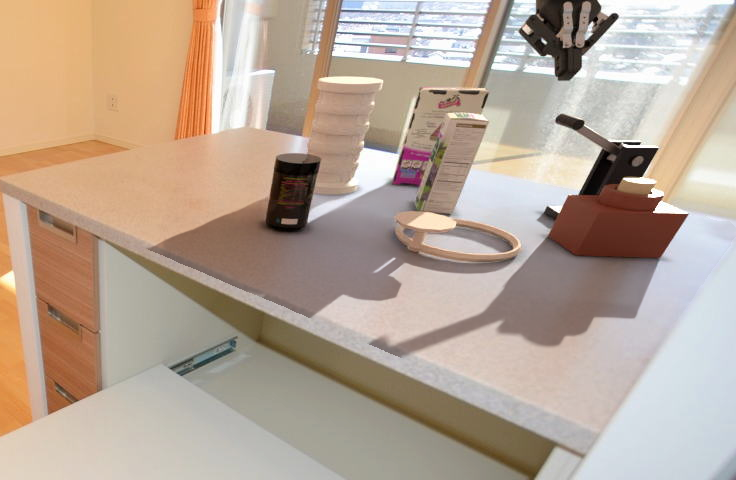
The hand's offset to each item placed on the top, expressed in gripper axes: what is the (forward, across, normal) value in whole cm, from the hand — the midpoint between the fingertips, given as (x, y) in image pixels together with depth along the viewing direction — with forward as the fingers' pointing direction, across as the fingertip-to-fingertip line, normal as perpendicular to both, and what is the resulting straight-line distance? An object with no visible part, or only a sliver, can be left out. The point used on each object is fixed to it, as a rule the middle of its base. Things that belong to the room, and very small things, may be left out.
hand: (567, 76), depth 81 cm
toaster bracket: (+18, -10, -10) cm, 23 cm away
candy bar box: (+2, +9, -26) cm, 27 cm away
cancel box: (+26, -6, -2) cm, 26 cm away
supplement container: (+22, +39, -6) cm, 45 cm away
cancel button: (+20, -6, +3) cm, 21 cm away
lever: (+10, -5, -2) cm, 11 cm away
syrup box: (+14, +12, -14) cm, 23 cm away
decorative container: (+5, +28, -24) cm, 37 cm away
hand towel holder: (+26, +16, -2) cm, 31 cm away
